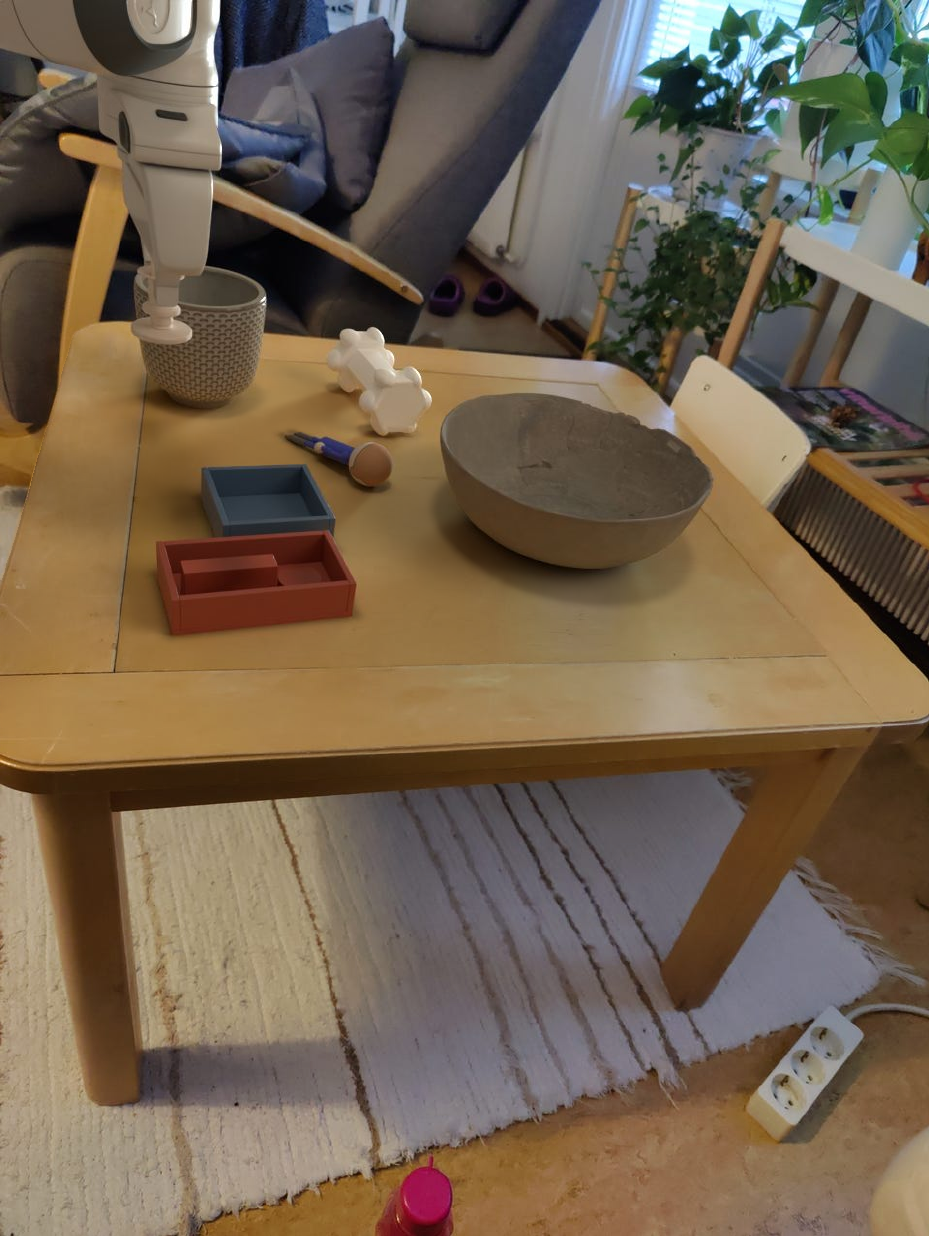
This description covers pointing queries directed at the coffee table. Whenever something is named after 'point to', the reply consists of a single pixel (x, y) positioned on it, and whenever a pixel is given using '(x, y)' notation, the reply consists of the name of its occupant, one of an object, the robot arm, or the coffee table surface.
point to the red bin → (263, 602)
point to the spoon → (241, 574)
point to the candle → (159, 317)
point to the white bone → (379, 381)
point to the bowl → (570, 479)
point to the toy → (352, 457)
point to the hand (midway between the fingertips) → (161, 293)
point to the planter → (208, 338)
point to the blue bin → (264, 500)
